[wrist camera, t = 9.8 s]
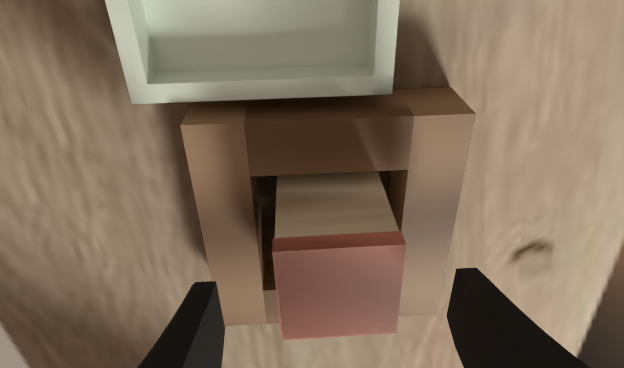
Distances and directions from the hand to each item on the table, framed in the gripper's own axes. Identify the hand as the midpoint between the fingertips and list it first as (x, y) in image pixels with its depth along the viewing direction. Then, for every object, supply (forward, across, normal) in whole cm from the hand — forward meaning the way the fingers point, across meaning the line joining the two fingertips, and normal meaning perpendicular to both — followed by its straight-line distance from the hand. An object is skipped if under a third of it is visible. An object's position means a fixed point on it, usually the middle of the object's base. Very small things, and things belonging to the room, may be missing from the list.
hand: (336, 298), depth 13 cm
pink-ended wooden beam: (+5, 0, 0) cm, 5 cm away
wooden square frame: (+5, 0, 0) cm, 5 cm away
